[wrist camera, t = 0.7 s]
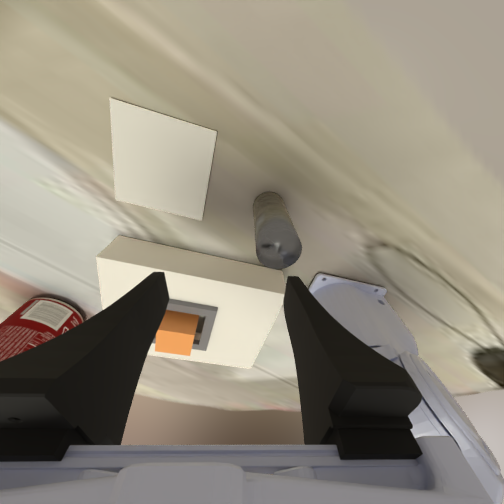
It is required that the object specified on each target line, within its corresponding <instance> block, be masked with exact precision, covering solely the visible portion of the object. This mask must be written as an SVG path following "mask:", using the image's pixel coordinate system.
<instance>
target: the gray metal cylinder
mask: <svg viewBox="0 0 504 504" xmlns="http://www.w3.org/2000/svg"><path fill="white" fill-rule="evenodd" d="M253 213H254V226H255V240H256V254H257V257H258V259H259V261H260V262H261V263H262V264H263V265H264V266H266V267H269V268H272V269H283V268H286V267H289V266H291V265H292V264H294V263H295V262H296V261H297V260H298V258H299V257H300V255H301V251H302V245H301V242H300V239H299V237H298V235H297V232H296V230H295V228H294V225H293V223H292V221H291V218H290V216H289V214H288V211H287V209H286V207H285V204H284V202H283V200H282V198H281V197H280V196H279V195H278V194H276V193H274V192H265V193H262V194H260V195H259V196H258V197H257V198H256V199H255V201H254V204H253Z"/></svg>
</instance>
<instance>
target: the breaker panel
mask: <svg viewBox="0 0 504 504" xmlns="http://www.w3.org/2000/svg"><path fill="white" fill-rule="evenodd" d="M96 261H97V269H98V277H99V285H100V293H101V301H102V309H103V310H104V309H105V308H107V307H108V306H110V305H111V304H113V303H114V302H115V301H117V300H118V299H119V298H121V297H122V296H124V295H125V294H126V293H127V292H129V291H130V290H131V289H133V288H134V287H135V286H136V285H138V284H139V283H140V282H141V281H142V280H144V279H145V278H146V277H147V276H149V275H150V274H151V273H153V272H164V273H165V278H166V283H167V288H168V293H169V302H168V305H167V309H166V310H171V311H177V312H183V313H189V314H195V315H199V319H198V324H197V328H196V332H195V337H194V341H193V345H192V349H191V354H190V356H186V355H178V354H171V353H164V352H157V351H155V343H156V335H155V338H154V340H153V342H152V344H151V346H150V349H149V351H148V354H147V355H152V356H159V357H167V358H174V359H182V360H189V361H197V362H204V363H211V364H219V365H226V366H234V367H241V368H249V369H251V367H252V365H253V363H254V361H255V359H256V357H257V355H258V353H259V351H260V349H261V347H262V345H263V343H264V341H265V339H266V337H267V335H268V333H269V331H270V329H271V327H272V325H273V323H274V321H275V319H276V317H277V315H278V313H279V311H280V309H281V307H282V305H283V300H284V294H285V289H286V285H285V281H284V276H283V272H282V271H281V270H276V269H271V268H267V267H262V266H258V265H253V264H248V263H244V262H239V261H235V260H230V259H226V258H221V257H216V256H212V255H207V254H203V253H198V252H193V251H189V250H184V249H180V248H175V247H171V246H166V245H161V244H157V243H152V242H148V241H143V240H138V239H134V238H129V237H125V236H120V235H119V236H118V237H117V238H115V239H114V240H113V241H112V242H111V243H110V244H109V245H108V246H107V247H106V248H105V249H104V250H103V251H102V252H101V253H99V254H98V255H97V256H96Z"/></svg>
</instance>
